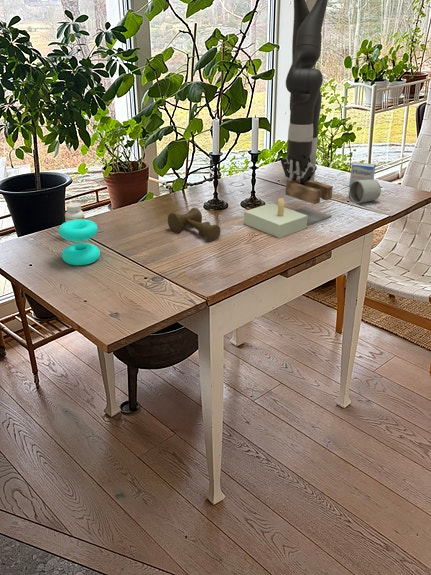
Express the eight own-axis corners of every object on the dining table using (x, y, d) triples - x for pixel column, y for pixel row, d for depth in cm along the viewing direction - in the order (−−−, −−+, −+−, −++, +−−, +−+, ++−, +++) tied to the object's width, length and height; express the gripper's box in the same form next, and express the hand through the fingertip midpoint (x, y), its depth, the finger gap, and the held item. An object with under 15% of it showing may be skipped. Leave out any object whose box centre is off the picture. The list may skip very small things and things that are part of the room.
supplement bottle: (86, 232, 174) (83, 201, 170) (86, 239, 170) (82, 207, 165) (68, 233, 173) (64, 202, 169) (67, 240, 169) (63, 208, 164)
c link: (285, 194, 185) (286, 182, 183) (302, 189, 189) (303, 177, 188) (314, 204, 177) (315, 191, 175) (331, 198, 181) (332, 186, 180)
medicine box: (348, 188, 212) (351, 164, 208) (351, 184, 216) (353, 161, 212) (370, 190, 210) (374, 166, 206) (372, 187, 213) (375, 163, 209)
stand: (243, 223, 181) (244, 195, 176) (271, 214, 188) (272, 187, 183) (279, 237, 171) (280, 208, 166) (306, 227, 178) (308, 199, 173)
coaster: (282, 215, 187) (282, 214, 186) (305, 208, 193) (305, 206, 193) (308, 225, 179) (308, 223, 179) (331, 217, 186) (331, 215, 186)
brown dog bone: (202, 247, 166) (159, 226, 179) (227, 239, 172) (184, 219, 185) (202, 227, 163) (159, 207, 176) (228, 220, 169) (184, 201, 182)
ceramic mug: (381, 202, 198) (384, 180, 195) (362, 206, 195) (364, 183, 191) (360, 194, 207) (363, 172, 203) (342, 197, 203) (344, 175, 200)
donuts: (92, 215, 159) (101, 228, 151) (95, 249, 163) (104, 263, 155) (54, 220, 155) (61, 234, 147) (59, 255, 160) (66, 269, 152)
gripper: (275, 135, 181) (272, 189, 189) (309, 143, 172) (305, 200, 180) (291, 132, 185) (288, 185, 193) (325, 140, 176) (320, 195, 184)
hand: (296, 192), depth 186 cm, fingers closed on c link, 2 cm apart
